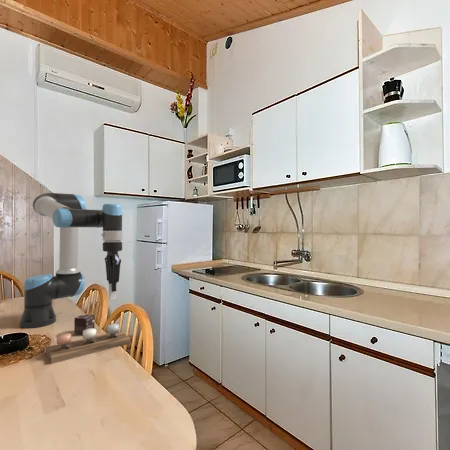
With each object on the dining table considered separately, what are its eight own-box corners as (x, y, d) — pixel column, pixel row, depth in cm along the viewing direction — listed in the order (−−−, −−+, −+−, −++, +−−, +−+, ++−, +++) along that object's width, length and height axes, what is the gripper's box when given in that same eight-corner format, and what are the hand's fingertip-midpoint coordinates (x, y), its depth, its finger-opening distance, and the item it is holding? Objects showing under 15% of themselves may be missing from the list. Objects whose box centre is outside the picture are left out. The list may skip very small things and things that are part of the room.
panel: (45, 352, 112) (45, 347, 112) (119, 335, 130) (119, 330, 130) (51, 363, 103) (51, 357, 103) (130, 343, 121) (130, 338, 121)
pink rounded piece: (55, 346, 111) (55, 335, 111) (69, 343, 114) (69, 332, 114) (57, 351, 108) (57, 338, 108) (72, 347, 111) (72, 335, 111)
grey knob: (105, 336, 123) (104, 325, 123) (116, 333, 126) (116, 322, 126) (108, 339, 119) (108, 328, 119) (120, 336, 122) (120, 325, 122)
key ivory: (81, 341, 117) (81, 330, 117) (94, 338, 120) (94, 327, 120) (84, 345, 113) (84, 333, 113) (97, 342, 116) (97, 330, 116)
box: (86, 335, 130) (86, 318, 130) (73, 334, 131) (73, 317, 131) (94, 330, 136) (94, 314, 136) (83, 329, 137) (83, 313, 137)
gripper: (98, 241, 125) (98, 297, 125) (108, 242, 115) (108, 303, 115) (116, 240, 130) (116, 294, 130) (127, 241, 120) (127, 300, 120)
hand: (112, 298), depth 122 cm, fingers closed
